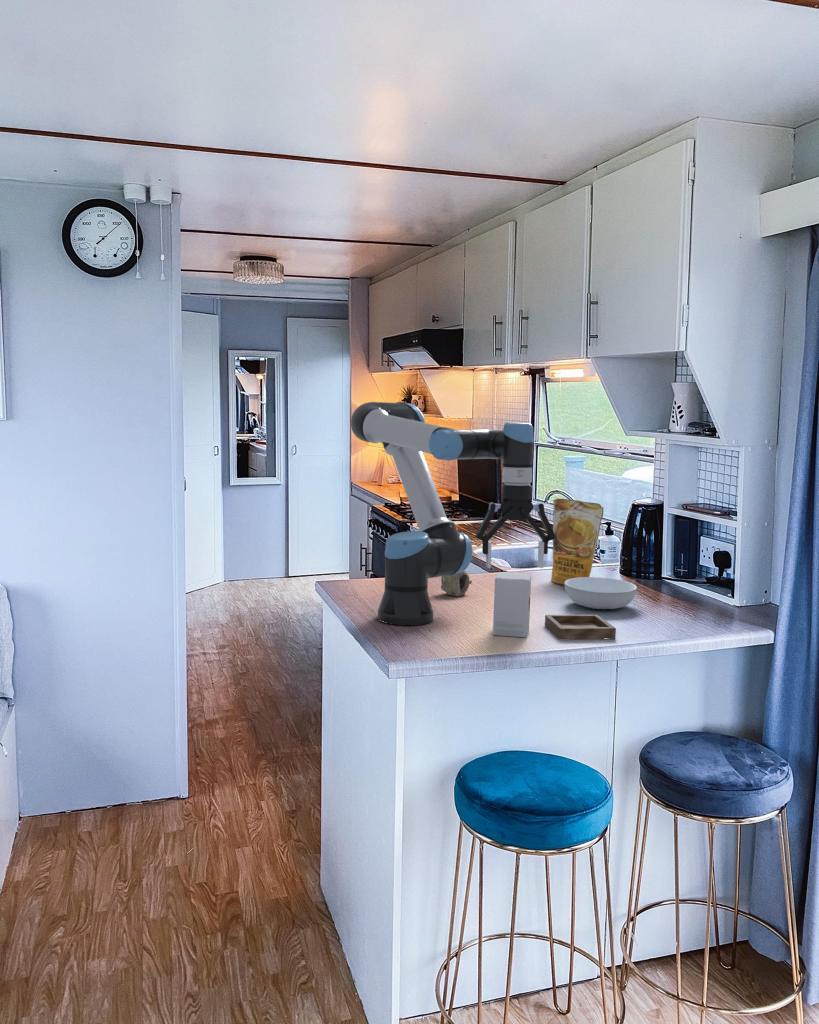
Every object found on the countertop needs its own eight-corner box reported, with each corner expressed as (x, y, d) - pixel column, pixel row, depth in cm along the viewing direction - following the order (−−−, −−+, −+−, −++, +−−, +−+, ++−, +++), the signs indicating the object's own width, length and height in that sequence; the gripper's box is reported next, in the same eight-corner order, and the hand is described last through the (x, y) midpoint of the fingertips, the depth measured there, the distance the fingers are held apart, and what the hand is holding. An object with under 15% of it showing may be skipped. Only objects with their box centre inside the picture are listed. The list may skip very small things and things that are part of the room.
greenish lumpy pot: (443, 603, 265) (433, 574, 263) (447, 593, 273) (437, 564, 271) (473, 596, 263) (463, 566, 260) (475, 586, 271) (466, 557, 268)
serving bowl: (554, 609, 250) (555, 585, 250) (575, 596, 269) (576, 574, 268) (625, 618, 241) (627, 594, 240) (643, 604, 259) (644, 581, 258)
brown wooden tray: (559, 639, 217) (560, 628, 217) (544, 625, 231) (545, 614, 231) (615, 639, 219) (615, 628, 218) (597, 624, 233) (597, 614, 233)
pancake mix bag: (556, 578, 295) (560, 497, 292) (601, 588, 280) (605, 503, 277) (543, 581, 291) (546, 498, 287) (587, 591, 276) (592, 504, 273)
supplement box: (527, 638, 218) (529, 580, 216) (492, 635, 220) (494, 577, 218) (530, 629, 227) (532, 573, 225) (495, 627, 228) (497, 571, 227)
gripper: (471, 484, 213) (469, 569, 216) (569, 485, 216) (566, 569, 218) (465, 482, 221) (463, 564, 223) (560, 483, 223) (558, 564, 226)
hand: (514, 566), depth 221 cm, fingers open, 13 cm apart
